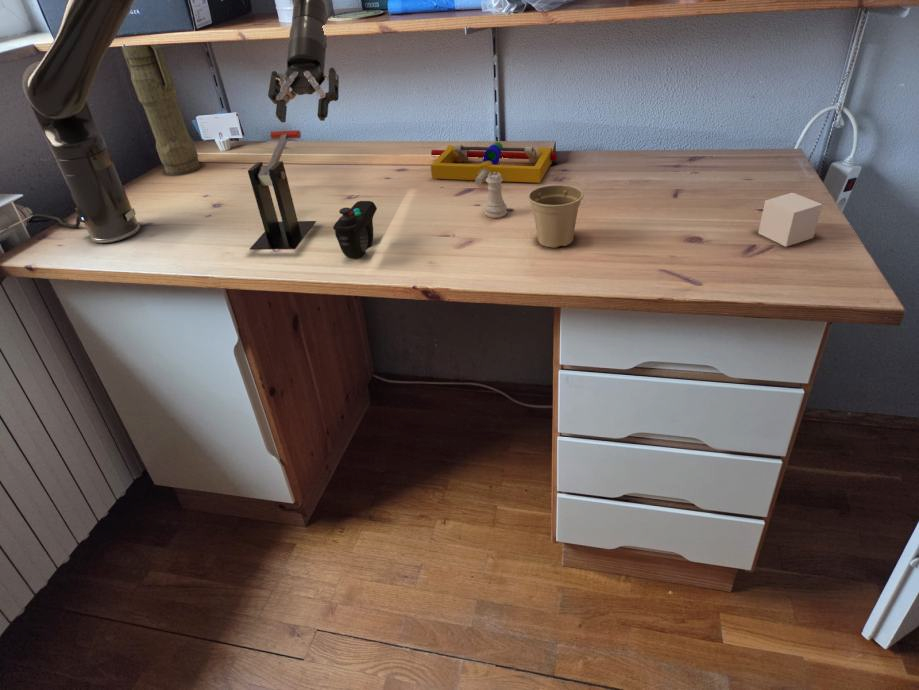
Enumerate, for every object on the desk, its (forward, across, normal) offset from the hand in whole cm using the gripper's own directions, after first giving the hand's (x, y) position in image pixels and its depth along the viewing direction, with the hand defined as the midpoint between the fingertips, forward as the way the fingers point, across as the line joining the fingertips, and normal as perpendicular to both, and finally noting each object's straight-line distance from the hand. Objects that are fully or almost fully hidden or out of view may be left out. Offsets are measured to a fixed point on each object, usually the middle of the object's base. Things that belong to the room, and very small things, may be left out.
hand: (301, 119), depth 127 cm
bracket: (+26, 0, -2) cm, 26 cm away
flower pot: (+27, +52, -3) cm, 58 cm away
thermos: (-3, -44, +28) cm, 52 cm away
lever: (+13, 0, -8) cm, 15 cm away
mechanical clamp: (+4, +35, +21) cm, 41 cm away
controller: (+30, +17, -6) cm, 35 cm away
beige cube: (+27, +90, -2) cm, 94 cm away
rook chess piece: (+19, +40, +6) cm, 44 cm away
